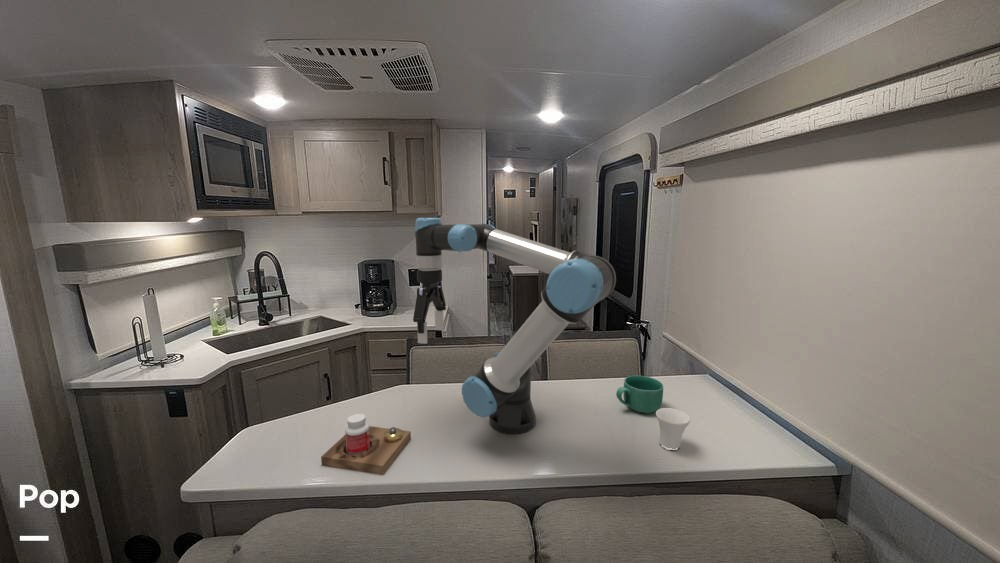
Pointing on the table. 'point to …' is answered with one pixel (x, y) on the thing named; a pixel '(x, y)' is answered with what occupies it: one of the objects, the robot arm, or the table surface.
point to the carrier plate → (367, 453)
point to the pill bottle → (357, 435)
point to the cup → (671, 426)
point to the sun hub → (392, 435)
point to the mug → (641, 393)
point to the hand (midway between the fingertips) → (431, 336)
